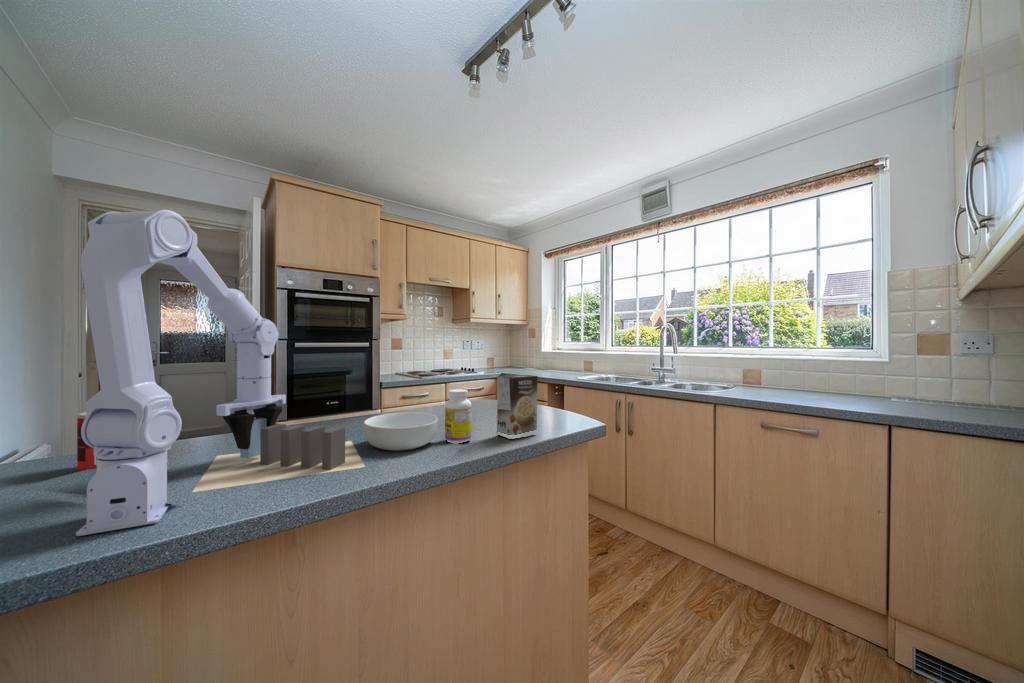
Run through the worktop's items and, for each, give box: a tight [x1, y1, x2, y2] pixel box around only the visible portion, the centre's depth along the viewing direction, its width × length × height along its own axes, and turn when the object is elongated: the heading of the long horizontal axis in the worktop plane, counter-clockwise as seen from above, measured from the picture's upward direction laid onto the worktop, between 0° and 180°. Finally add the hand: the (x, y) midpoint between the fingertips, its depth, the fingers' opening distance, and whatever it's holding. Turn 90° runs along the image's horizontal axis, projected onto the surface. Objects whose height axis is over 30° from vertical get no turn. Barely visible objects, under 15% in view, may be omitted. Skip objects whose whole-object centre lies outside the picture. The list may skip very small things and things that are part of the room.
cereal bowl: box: [363, 411, 439, 452], centre depth 90 cm, size 17×17×7 cm
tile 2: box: [260, 423, 287, 465], centre depth 76 cm, size 2×4×7 cm, turn 169°
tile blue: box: [239, 418, 267, 458], centre depth 77 cm, size 2×4×7 cm, turn 169°
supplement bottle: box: [444, 388, 472, 441], centre depth 97 cm, size 7×7×13 cm
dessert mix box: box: [496, 374, 538, 435], centre depth 103 cm, size 9×6×16 cm
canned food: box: [76, 411, 97, 473], centre depth 75 cm, size 8×8×11 cm
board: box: [191, 440, 366, 494], centre depth 77 cm, size 22×26×1 cm
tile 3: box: [280, 424, 306, 467], centre depth 76 cm, size 2×4×7 cm, turn 169°
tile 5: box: [322, 426, 346, 470], centre depth 74 cm, size 2×4×7 cm, turn 169°
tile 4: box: [301, 425, 326, 468], centre depth 75 cm, size 2×4×7 cm, turn 169°
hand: (254, 445), depth 77 cm, fingers closed on tile blue, 4 cm apart
